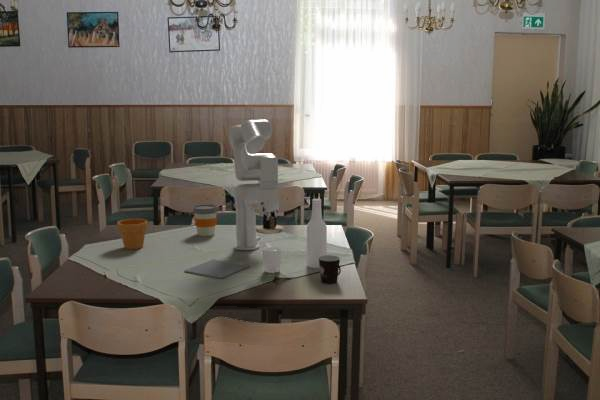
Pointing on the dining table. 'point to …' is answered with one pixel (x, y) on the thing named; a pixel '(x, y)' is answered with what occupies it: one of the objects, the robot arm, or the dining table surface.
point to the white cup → (272, 259)
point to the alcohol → (316, 236)
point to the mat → (217, 269)
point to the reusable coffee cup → (205, 219)
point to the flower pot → (132, 232)
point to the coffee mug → (329, 268)
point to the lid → (272, 229)
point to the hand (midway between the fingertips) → (269, 227)
